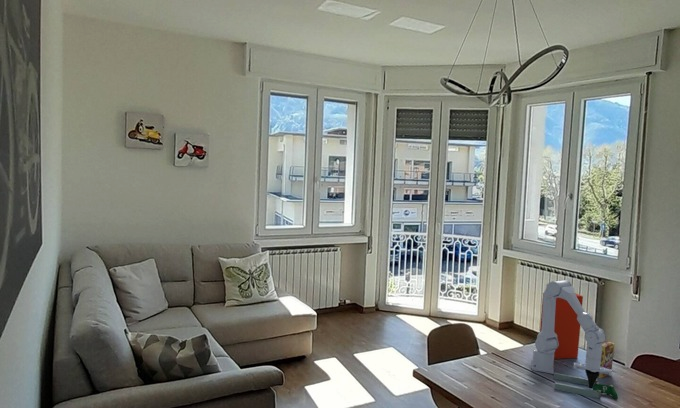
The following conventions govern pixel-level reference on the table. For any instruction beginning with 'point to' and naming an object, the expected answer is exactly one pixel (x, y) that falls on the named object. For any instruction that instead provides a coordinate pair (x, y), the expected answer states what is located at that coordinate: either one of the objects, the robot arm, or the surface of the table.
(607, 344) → the candy box
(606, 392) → the dark green curved piece
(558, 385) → the pair of grey bars
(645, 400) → the table surface
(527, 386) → the table surface
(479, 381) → the table surface
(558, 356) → the file binder
